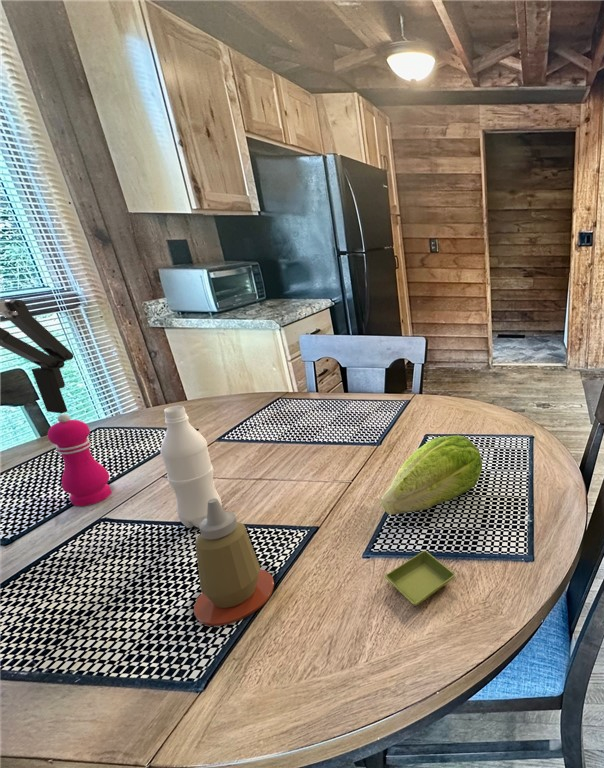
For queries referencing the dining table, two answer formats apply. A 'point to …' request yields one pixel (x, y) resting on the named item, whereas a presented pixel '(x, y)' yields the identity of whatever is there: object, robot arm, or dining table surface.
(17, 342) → the robot arm
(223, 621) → the coaster
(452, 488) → the lettuce
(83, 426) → the pepper mill
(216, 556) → the squeeze bottle
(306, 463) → the dining table surface
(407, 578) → the green square tray
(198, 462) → the water bottle
